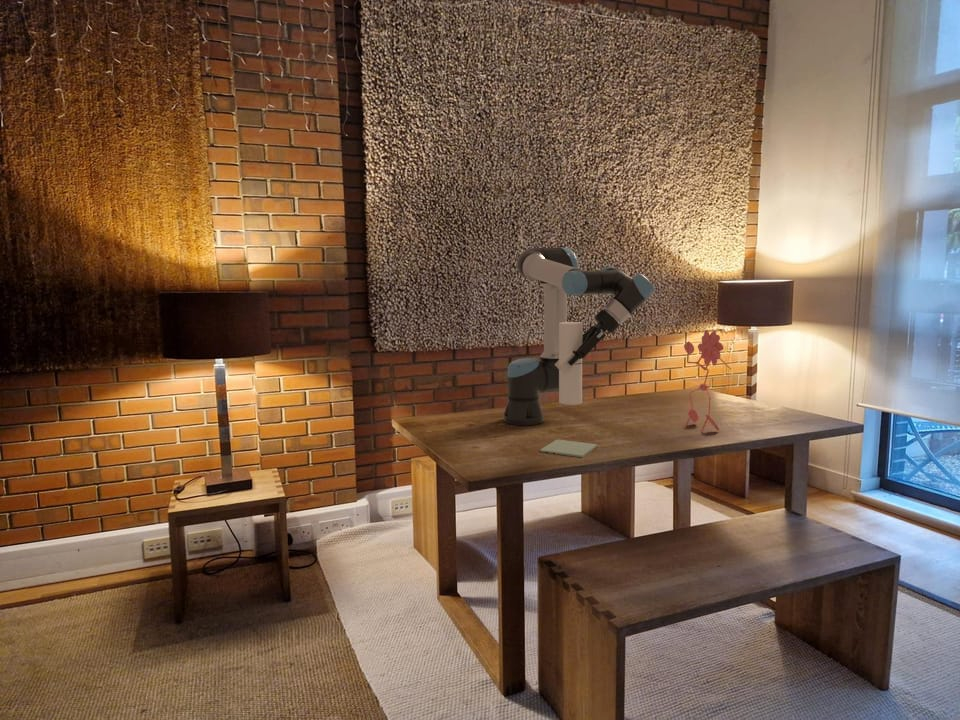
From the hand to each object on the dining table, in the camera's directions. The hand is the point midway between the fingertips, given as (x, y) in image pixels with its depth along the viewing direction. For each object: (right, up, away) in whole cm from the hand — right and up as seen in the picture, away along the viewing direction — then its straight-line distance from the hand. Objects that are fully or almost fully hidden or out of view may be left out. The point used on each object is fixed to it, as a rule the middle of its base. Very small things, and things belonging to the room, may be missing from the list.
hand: (559, 369), depth 199 cm
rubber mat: (+4, -25, +4) cm, 26 cm away
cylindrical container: (+4, -11, +2) cm, 11 cm away
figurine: (+57, -21, +29) cm, 68 cm away
